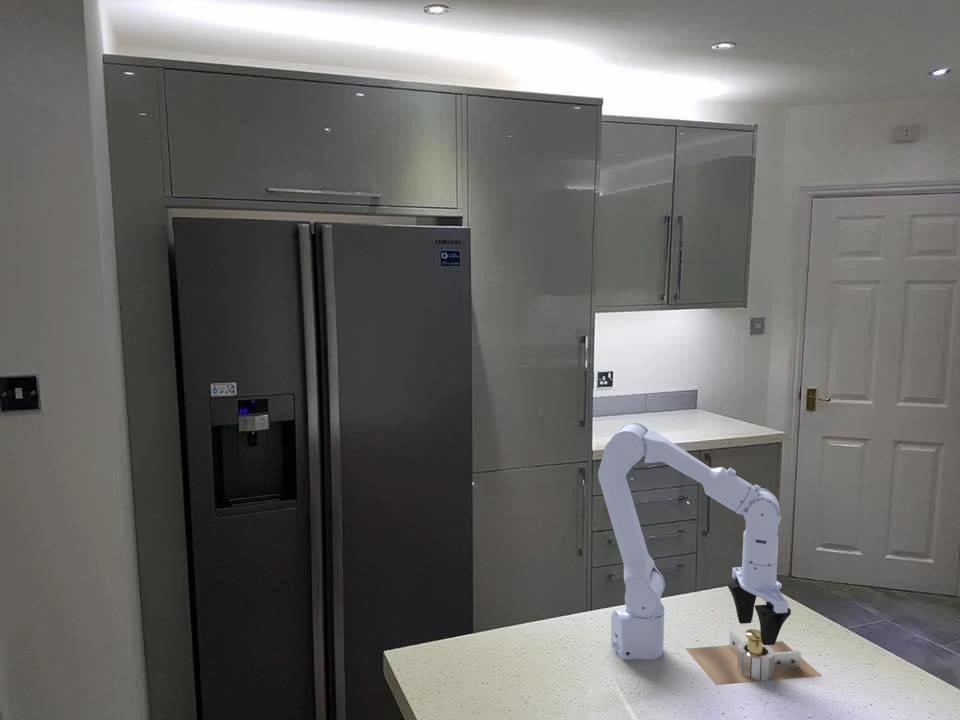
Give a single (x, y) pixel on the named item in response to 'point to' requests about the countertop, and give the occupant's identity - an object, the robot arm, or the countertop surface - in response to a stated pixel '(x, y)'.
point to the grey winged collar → (762, 660)
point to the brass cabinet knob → (754, 642)
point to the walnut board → (724, 662)
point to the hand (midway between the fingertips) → (756, 633)
